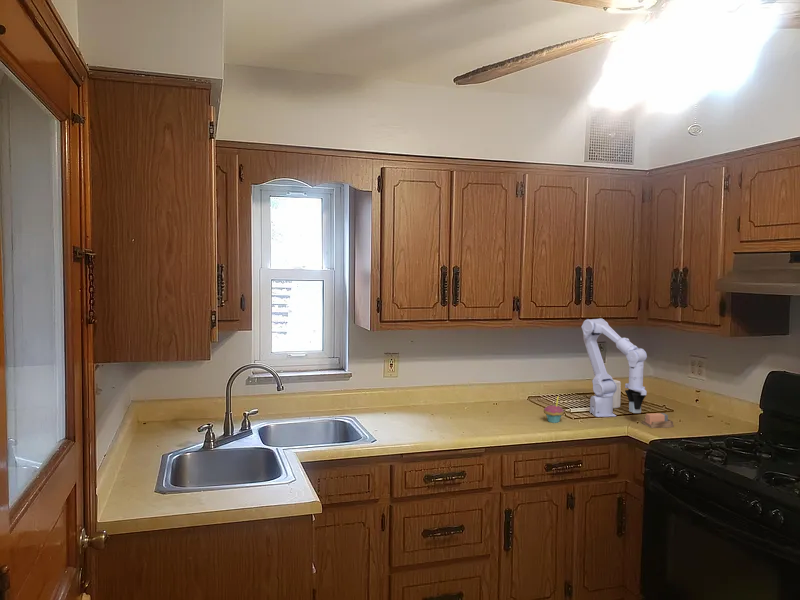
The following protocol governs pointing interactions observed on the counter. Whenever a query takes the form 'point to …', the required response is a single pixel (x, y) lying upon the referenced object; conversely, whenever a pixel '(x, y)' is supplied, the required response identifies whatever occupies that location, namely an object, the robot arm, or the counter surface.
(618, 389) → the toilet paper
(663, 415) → the two-tone peach block
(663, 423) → the jig
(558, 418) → the cupcake
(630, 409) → the pale blue-grey cube
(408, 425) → the counter surface
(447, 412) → the counter surface
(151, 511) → the counter surface
